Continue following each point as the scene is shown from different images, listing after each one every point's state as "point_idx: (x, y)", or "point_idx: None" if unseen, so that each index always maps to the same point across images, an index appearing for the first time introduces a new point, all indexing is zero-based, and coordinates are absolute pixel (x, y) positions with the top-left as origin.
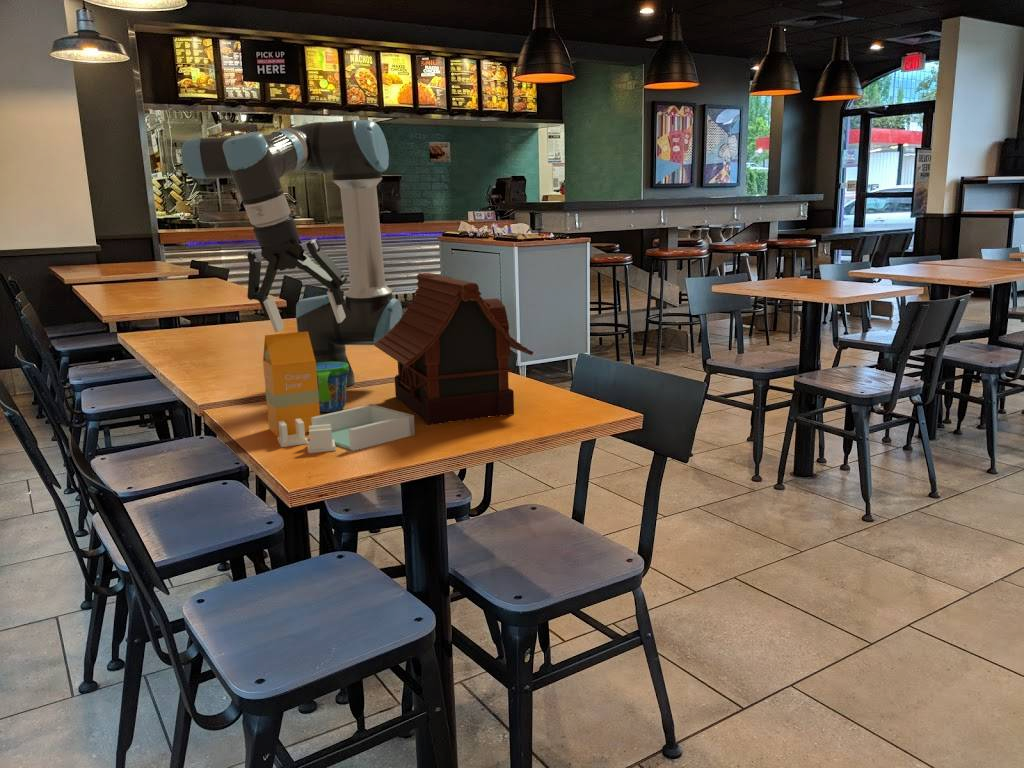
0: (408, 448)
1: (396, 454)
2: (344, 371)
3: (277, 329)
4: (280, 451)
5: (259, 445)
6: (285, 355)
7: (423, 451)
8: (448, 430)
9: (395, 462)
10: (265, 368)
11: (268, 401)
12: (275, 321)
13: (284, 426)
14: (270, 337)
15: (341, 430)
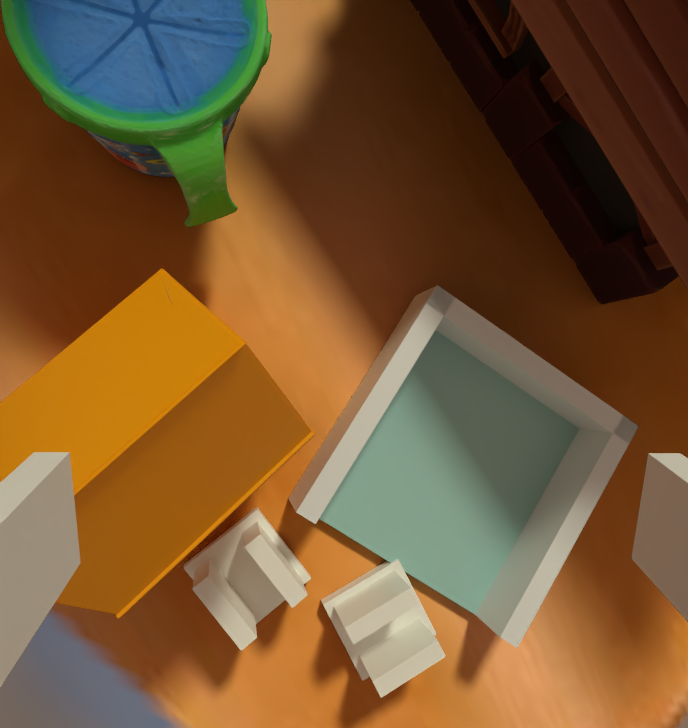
0: (625, 560)
1: (614, 623)
2: (266, 60)
3: (70, 574)
4: (258, 674)
5: (147, 627)
6: (162, 534)
7: None
8: (673, 358)
9: (636, 693)
10: None
11: None
12: (41, 610)
13: (250, 642)
14: None
15: (369, 441)
